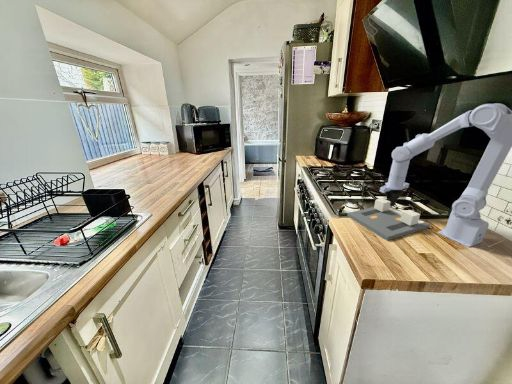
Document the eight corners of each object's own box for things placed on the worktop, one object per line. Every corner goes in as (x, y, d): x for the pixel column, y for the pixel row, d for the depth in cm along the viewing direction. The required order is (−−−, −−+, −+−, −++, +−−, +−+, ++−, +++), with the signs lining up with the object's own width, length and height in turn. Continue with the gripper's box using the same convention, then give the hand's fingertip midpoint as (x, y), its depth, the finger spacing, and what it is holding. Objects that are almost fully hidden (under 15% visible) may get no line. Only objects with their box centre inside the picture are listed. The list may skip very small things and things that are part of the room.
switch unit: (428, 227, 82) (430, 223, 81) (386, 240, 74) (388, 236, 74) (384, 207, 98) (385, 203, 97) (347, 216, 91) (347, 212, 90)
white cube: (417, 223, 81) (420, 214, 79) (410, 225, 79) (412, 216, 78) (407, 218, 84) (409, 209, 82) (399, 220, 83) (402, 211, 81)
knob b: (388, 210, 91) (390, 201, 89) (381, 211, 90) (383, 203, 88) (380, 206, 94) (382, 198, 93) (373, 208, 93) (375, 199, 92)
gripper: (400, 170, 94) (393, 198, 99) (376, 175, 89) (370, 204, 94) (417, 175, 88) (408, 205, 93) (391, 180, 83) (384, 211, 88)
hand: (390, 205), depth 93 cm, fingers closed
